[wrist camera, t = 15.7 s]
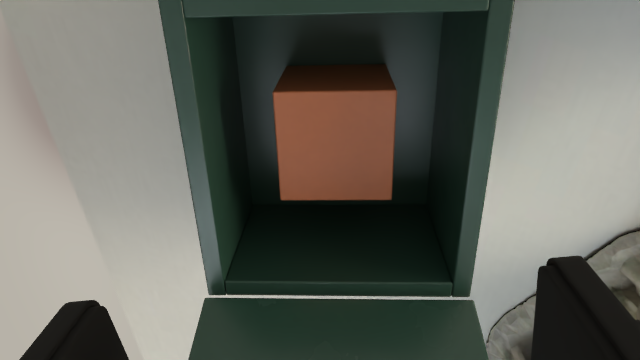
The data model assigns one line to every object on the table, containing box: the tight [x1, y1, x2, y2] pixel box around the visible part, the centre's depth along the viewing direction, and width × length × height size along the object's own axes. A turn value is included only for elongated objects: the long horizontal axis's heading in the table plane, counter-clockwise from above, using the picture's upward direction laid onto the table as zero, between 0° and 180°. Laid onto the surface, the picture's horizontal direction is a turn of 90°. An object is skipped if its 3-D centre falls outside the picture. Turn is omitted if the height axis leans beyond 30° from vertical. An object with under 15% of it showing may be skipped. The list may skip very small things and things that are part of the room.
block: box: [272, 64, 397, 200], centre depth 21 cm, size 5×5×5 cm
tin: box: [158, 0, 515, 297], centre depth 21 cm, size 13×12×8 cm
